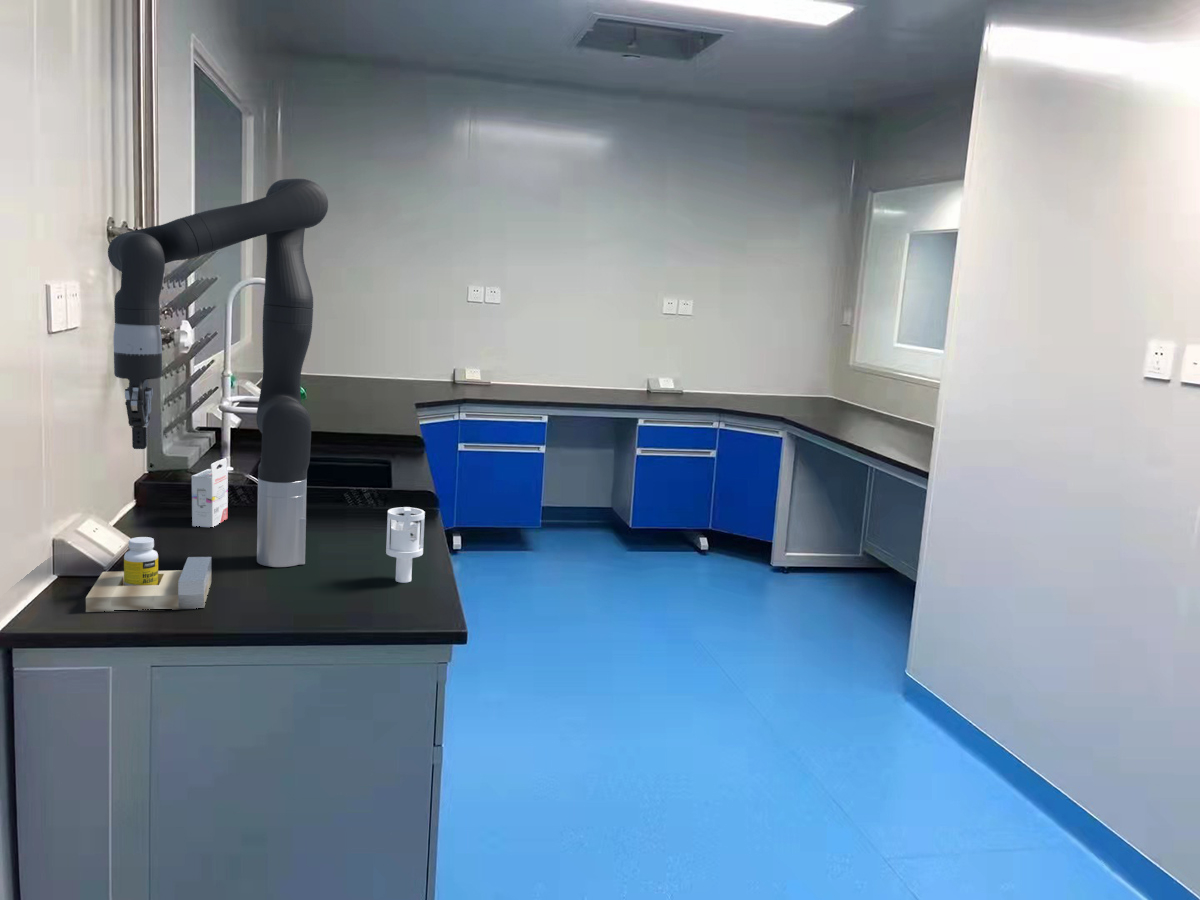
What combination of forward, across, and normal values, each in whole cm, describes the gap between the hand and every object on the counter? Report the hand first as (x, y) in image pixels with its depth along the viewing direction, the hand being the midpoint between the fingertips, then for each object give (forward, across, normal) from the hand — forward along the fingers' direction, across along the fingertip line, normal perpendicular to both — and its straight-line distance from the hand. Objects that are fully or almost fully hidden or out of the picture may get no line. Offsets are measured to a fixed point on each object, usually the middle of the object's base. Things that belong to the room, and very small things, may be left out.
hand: (140, 448), depth 164 cm
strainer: (+26, -2, -46) cm, 53 cm away
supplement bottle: (+25, -5, 0) cm, 26 cm away
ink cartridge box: (+26, +44, -8) cm, 51 cm away
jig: (+25, -7, -2) cm, 26 cm away
